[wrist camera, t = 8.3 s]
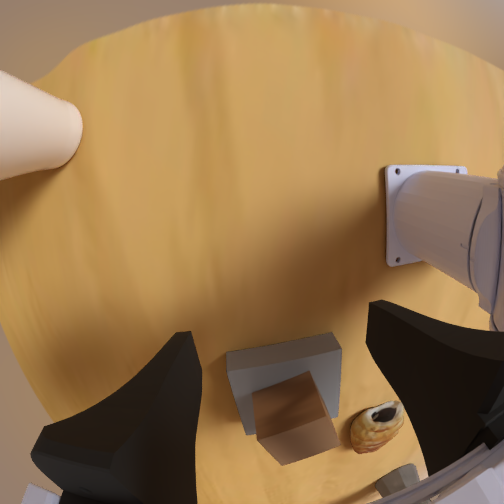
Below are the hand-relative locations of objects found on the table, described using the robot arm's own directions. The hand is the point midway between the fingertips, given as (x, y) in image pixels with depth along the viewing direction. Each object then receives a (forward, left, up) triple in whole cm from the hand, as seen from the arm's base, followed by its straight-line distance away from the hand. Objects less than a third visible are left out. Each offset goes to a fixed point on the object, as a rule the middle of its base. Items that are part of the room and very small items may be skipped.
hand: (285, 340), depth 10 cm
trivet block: (-1, +12, -10) cm, 16 cm away
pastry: (-12, +23, -10) cm, 28 cm away
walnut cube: (-1, +12, -8) cm, 14 cm away
